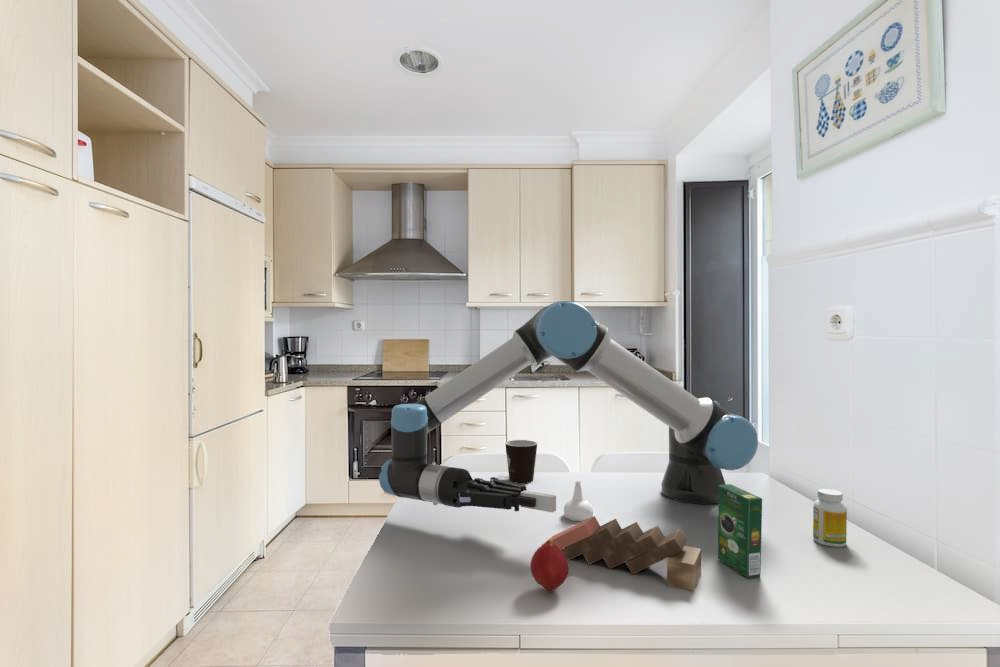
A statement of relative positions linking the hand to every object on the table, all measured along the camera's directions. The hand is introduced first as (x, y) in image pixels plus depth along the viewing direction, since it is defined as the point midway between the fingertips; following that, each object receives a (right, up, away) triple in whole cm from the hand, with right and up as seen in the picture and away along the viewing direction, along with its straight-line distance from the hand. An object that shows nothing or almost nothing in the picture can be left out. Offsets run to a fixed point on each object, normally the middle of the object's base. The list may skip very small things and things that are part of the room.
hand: (554, 503), depth 96 cm
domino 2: (+3, -8, -2) cm, 8 cm away
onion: (-2, -9, -15) cm, 18 cm away
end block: (+20, -9, -11) cm, 24 cm away
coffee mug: (-4, -9, +48) cm, 49 cm away
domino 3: (+6, -8, -3) cm, 10 cm away
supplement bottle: (+53, -9, +4) cm, 53 cm away
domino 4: (+9, -8, -5) cm, 13 cm away
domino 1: (-1, -8, 0) cm, 8 cm away
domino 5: (+13, -8, -7) cm, 16 cm away
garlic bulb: (+7, -9, +18) cm, 21 cm away
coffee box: (+30, -9, -7) cm, 32 cm away
